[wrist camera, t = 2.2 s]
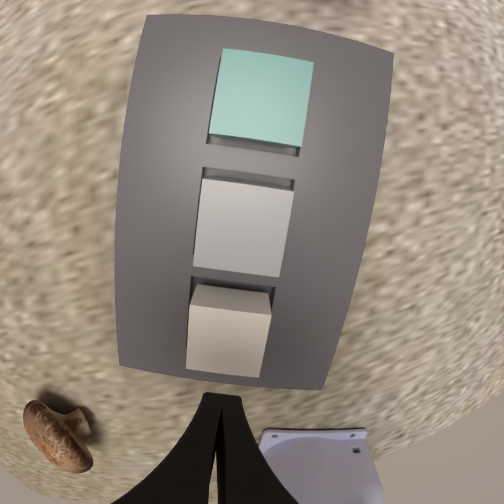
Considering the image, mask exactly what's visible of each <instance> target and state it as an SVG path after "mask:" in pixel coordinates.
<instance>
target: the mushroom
mask: <svg viewBox="0 0 504 504" xmlns="http://www.w3.org/2000/svg"><path fill="white" fill-rule="evenodd" d="M23 421H24V426H25V429H26V431H27V433H28V435H29V437H30V439H31V440H32V442H33V443H34V444H35V445H36V447H37V448H38V449H39V450H40V451H41V453H42V454H43V455H44V456H45V457H46V458H47V459H48V460H49V461H50V462H51V463H52V464H54V465H55V466H57V467H58V468H60V469H62V470H64V471H68V472H73V473H83V472H87V471H88V470H90V469H91V467H92V466H93V458H92V456H91V454H90V452H89V450H88V448H87V446H86V443H85V439H86V438H87V437H88V436H90V435H91V429H90V426H89V424H88V421H87V419H86V417H85V415H84V414H83V412H82V410H81V409H80V408H77V409H76V410H75V411H73V412H71V413H68V414H65V415H63V414H60V413H57V412H55V411H53V410H51V409H50V408H49V407H47V406H46V405H45V404H44V403H42V402H40V401H38V400H32V401H30V402H29V403H28V404H27V405H26V406H25V409H24V413H23Z"/></svg>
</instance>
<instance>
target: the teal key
mask: <svg viewBox="0 0 504 504" xmlns="http://www.w3.org/2000/svg"><path fill="white" fill-rule="evenodd" d="M313 65H314V62H310V61H305V60H300V59H295V58H290V57H284V56H278V55H272V54H266V53H259V52H252V51H244V50H235V49H225V48H223V52H222V57H221V62H220V68H219V73H218V79H217V85H216V91H215V97H214V103H213V109H212V115H211V122H210V128H209V134H211V135H212V136H214V137H219V138H228V139H235V140H243V141H250V142H257V143H264V144H270V145H276V146H282V147H288V148H297V147H302V141H303V134H304V128H305V121H306V115H307V108H308V101H309V94H310V87H311V80H312V73H313Z"/></svg>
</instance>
